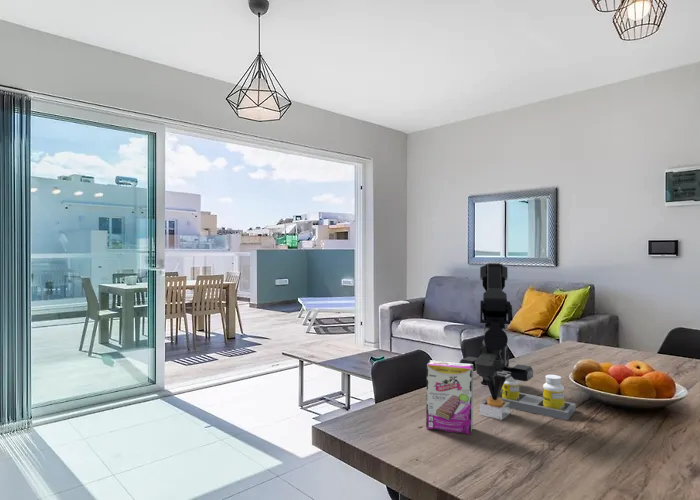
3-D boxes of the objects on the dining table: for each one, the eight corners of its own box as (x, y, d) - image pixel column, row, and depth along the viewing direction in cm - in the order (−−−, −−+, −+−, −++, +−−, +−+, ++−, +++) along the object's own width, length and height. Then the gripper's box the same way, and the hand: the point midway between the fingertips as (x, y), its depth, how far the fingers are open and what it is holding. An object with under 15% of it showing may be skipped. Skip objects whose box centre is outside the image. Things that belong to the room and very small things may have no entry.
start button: (485, 407, 122) (485, 399, 122) (490, 403, 125) (490, 396, 125) (499, 410, 119) (499, 403, 119) (504, 406, 122) (504, 399, 122)
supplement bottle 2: (540, 408, 126) (540, 373, 126) (560, 408, 126) (560, 374, 126) (546, 415, 121) (546, 379, 121) (567, 415, 121) (567, 379, 121)
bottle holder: (489, 403, 130) (489, 396, 130) (501, 395, 137) (501, 388, 137) (567, 420, 117) (567, 412, 117) (575, 410, 124) (575, 403, 124)
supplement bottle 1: (499, 400, 133) (499, 371, 133) (514, 399, 134) (514, 371, 134) (506, 405, 128) (506, 376, 128) (522, 405, 129) (522, 376, 129)
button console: (480, 414, 121) (480, 403, 121) (488, 408, 126) (488, 398, 126) (501, 420, 118) (501, 408, 118) (509, 413, 122) (509, 402, 122)
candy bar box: (425, 429, 111) (425, 364, 111) (428, 422, 116) (428, 359, 116) (472, 436, 108) (472, 368, 108) (473, 428, 112) (473, 363, 112)
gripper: (450, 342, 121) (450, 400, 121) (519, 352, 110) (519, 416, 110) (467, 336, 130) (467, 390, 130) (533, 345, 118) (533, 404, 118)
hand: (495, 399), depth 122 cm, fingers closed, pressing on start button
